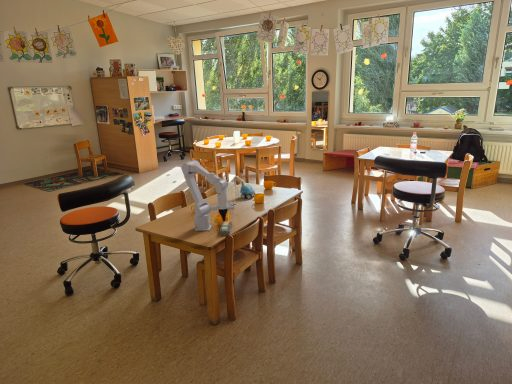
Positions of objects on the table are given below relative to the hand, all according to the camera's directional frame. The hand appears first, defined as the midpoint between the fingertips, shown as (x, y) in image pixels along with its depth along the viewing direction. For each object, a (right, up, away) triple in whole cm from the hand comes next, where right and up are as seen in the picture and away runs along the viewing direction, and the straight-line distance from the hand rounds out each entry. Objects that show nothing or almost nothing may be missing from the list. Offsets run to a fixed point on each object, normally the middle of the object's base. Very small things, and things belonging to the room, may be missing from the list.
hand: (224, 220), depth 211 cm
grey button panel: (+1, -7, +7) cm, 10 cm away
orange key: (+1, -4, +12) cm, 13 cm away
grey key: (0, -5, +7) cm, 8 cm away
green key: (0, -7, +2) cm, 7 cm away
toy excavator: (+10, +13, +70) cm, 72 cm away
